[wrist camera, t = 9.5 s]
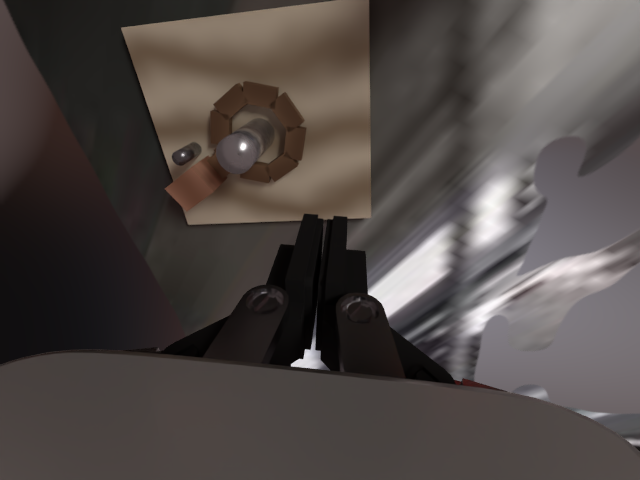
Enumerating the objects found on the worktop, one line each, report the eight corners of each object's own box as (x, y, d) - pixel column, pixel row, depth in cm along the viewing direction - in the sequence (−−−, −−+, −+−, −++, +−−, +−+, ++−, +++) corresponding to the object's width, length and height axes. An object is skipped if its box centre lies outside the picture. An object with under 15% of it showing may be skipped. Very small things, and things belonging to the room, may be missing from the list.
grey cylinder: (181, 124, 32) (134, 143, 25) (272, 116, 31) (248, 135, 24) (191, 155, 34) (149, 182, 27) (277, 149, 33) (256, 175, 26)
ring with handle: (264, 60, 28) (251, 61, 25) (323, 146, 32) (319, 158, 28) (162, 151, 34) (140, 163, 30) (221, 217, 37) (208, 233, 34)
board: (129, 28, 29) (120, 27, 28) (368, -2, 26) (369, -4, 25) (192, 220, 39) (188, 224, 38) (370, 213, 37) (371, 217, 35)
